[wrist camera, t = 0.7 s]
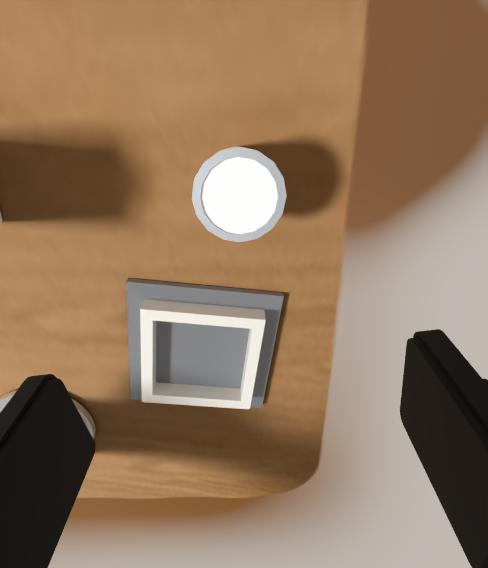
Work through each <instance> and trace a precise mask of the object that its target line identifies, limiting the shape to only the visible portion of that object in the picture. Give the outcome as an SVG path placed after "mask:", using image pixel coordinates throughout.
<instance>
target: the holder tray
mask: <svg viewBox="0 0 488 568" xmlns="http://www.w3.org/2000/svg"><path fill="white" fill-rule="evenodd" d="M126 287H127V314H128V342H129V369H130V397H131V400H142V402H147V403H162V404H177V405H192V406H208V407H223V408H238V409H250V407H251V408H262V404H263V399H264V394H265V389H266V384H267V379H268V374H269V369H270V364H271V359H272V354H273V349H274V343H275V338H276V333H277V328H278V323H279V318H280V313H281V308H282V303H283V298H284V295H283V293H281V292H271V291H260V290H249V289H239V288H228V287H217V286H206V285H196V284H185V283H174V282H164V281H153V280H142V279H132V278H128V280H127V281H126Z"/></svg>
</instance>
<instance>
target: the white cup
mask: <svg viewBox="0 0 488 568" xmlns="http://www.w3.org/2000/svg"><path fill="white" fill-rule="evenodd" d="M286 197H287V196H286V189H285V183H284V178H283V176H282V174H281V173H280V171H279V170H278V168H277V166H276V165H275V163H274V162H273V161H272V160H270V159H269V158H268V157H266V156H265V155H263V154H262V153H260V152H259V151H257V150H254V149H250V148H244V147H239V146H236V147H231V148H227V149H224V150H221V151H219V152H218V153H216V154H215V155H214V156H212V157H211V158H210V159H208V160H207V161H206V162H204V163H203V165H202V167H201V168H200V170H199V172H198V174H197V175H196V177H195V179H194V185H193V193H192V201H193V204H194V208H195V211H196V215H197V217H198V218H199V220H200V221H201V222H202V223H203V225H204V226H205V227H206V229H207V230H208V231H210V232H211V233H213V234H215V235H216V236H218V237H220V238H221V239H224V240H230V241H236V242H244V241H248V240H253V239H257V238H259V237H261V236H262V235H264V234H265V233H267V232H268V231H270V230H271V229H272V228H273V227H274V225H275V224H276V223H277V221H278V220H279V218H280V217H281V216H282V214H283V210H284V205H285V201H286Z"/></svg>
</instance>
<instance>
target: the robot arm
mask: <svg viewBox="0 0 488 568" xmlns="http://www.w3.org/2000/svg"><path fill="white" fill-rule="evenodd" d="M400 415H401V419H402V423H403V425H404V427H405V429H406V431H407V434H408V436H409V438H410V440H411V442H412V444H413V446H414V448H415V450H416V452H417V454H418V457H419V459H420V461H421V463H422V465H423V467H424V469H425V471H426V473H427V475H428V477H429V480H430V482H431V484H432V486H433V488H434V490H435V492H436V494H437V496H438V498H439V500H440V502H441V504H442V507H443V509H444V511H445V513H446V515H447V517H448V519H449V521H450V523H451V525H452V527H453V530H454V532H455V534H456V536H457V538H458V540H459V542H460V544H461V546H462V548H463V550H464V553H465V555H466V557H467V559H468V561H469V563H470V565H471V566H472V568H488V380H487V379H482V378H481V377H480V376H479V374H478V373H477V372H476V371H475V370H474V368H473V367H472V366H471V365H470V364H469V362H468V361H467V360H466V359H465V358H464V357H463V355H462V354H461V353H460V351H459V350H458V349H457V348H456V347H455V345H454V344H453V343H452V342H451V341H450V340H449V338H448V337H447V336H446V335H445V333H444V332H443V331H441V330H439V329H438V330H430V331H420V332H416V333H415V334H414V336H413V338H410V339H408V341H407V346H406V356H405V366H404V376H403V386H402V397H401V405H400ZM95 433H96V429H95V424H94V421H93V418H92V417H91V415H90V414H89V412H88V411H87V410H86V409H85V408H84V407H83V406H82V405H81V404H79V403H78V402H77V401H75V400H74V399H72V398H71V397H70V395H69V393H68V391H67V389H66V388H65V386H64V384H63V382H62V381H61V380H60V379H57V378H56V377H55V376H54V375H52V374H47V375H38V376H30V377H28V378H27V379H26V380H25V381H24V382H23V383H22V385H21V386H20V387H19V389H18V390H15V391H12V392H10V393H7V394H6V395H4V396H2V397H1V398H0V568H47V567H48V565H49V563H50V560H51V558H52V555H53V553H54V551H55V548H56V546H57V543H58V541H59V539H60V536H61V534H62V531H63V529H64V526H65V524H66V522H67V519H68V517H69V514H70V512H71V509H72V507H73V505H74V502H75V500H76V497H77V495H78V492H79V490H80V488H81V485H82V483H83V480H84V478H85V475H86V473H87V471H88V468H89V466H90V463H91V461H92V458H93V456H94V453H95V441H94V438H95Z"/></svg>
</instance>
